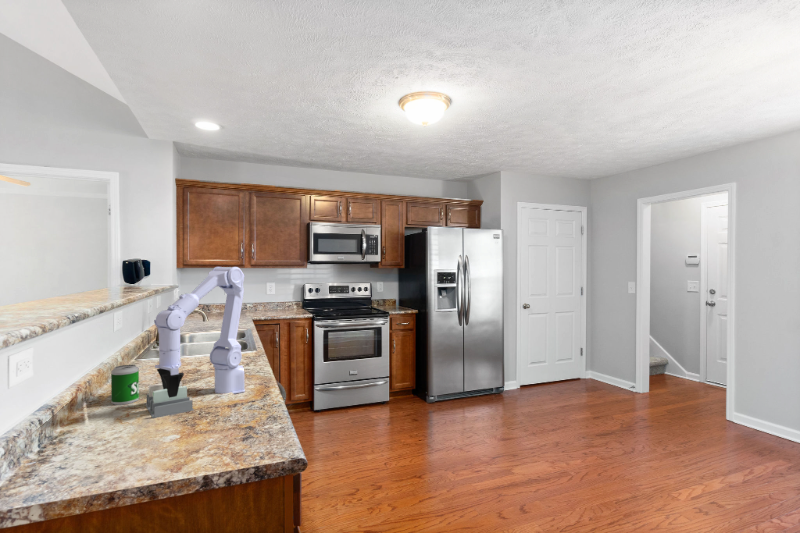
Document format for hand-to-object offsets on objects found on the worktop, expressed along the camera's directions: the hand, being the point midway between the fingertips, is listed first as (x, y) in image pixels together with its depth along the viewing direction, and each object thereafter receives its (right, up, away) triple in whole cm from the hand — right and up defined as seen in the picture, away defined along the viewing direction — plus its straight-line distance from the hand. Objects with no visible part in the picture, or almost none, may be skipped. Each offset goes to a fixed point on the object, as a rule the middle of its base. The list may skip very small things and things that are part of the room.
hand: (170, 393), depth 130 cm
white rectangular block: (-5, -5, +6) cm, 9 cm away
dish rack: (-1, -5, +1) cm, 6 cm away
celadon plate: (0, -5, 0) cm, 5 cm away
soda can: (-18, -6, +7) cm, 20 cm away
